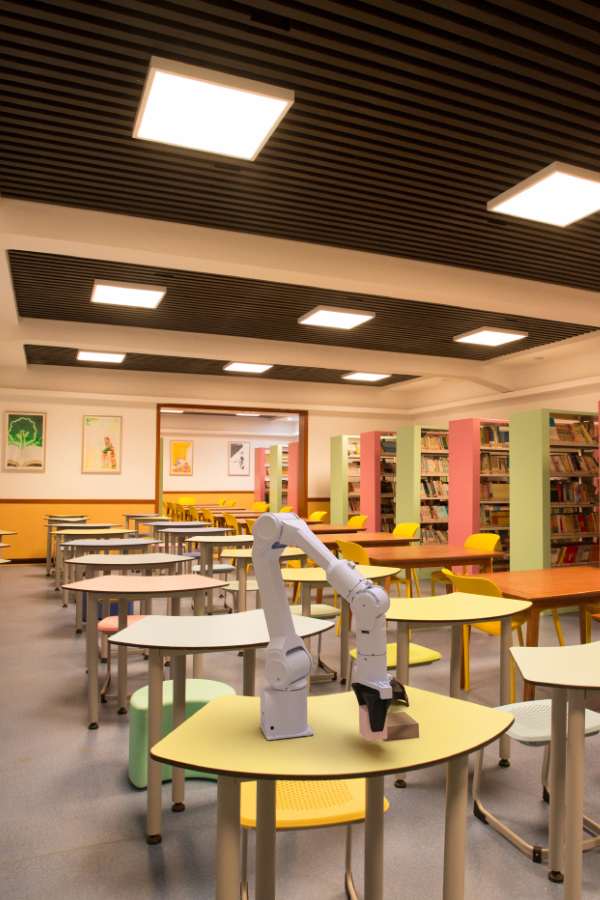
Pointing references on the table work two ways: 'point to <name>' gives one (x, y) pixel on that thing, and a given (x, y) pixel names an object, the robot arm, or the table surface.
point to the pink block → (365, 726)
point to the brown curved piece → (398, 690)
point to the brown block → (401, 726)
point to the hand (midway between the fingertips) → (372, 726)
